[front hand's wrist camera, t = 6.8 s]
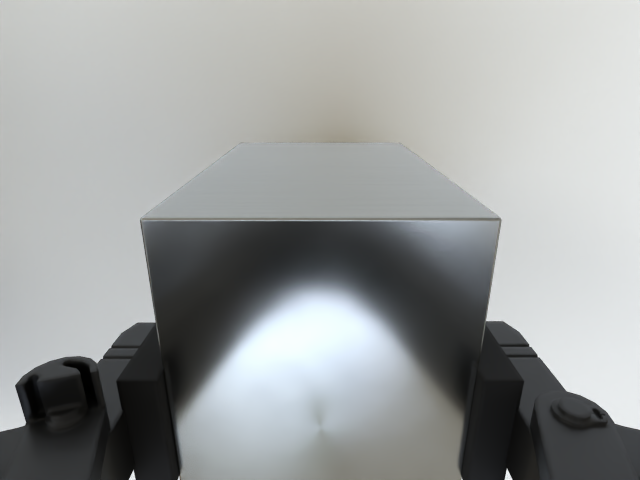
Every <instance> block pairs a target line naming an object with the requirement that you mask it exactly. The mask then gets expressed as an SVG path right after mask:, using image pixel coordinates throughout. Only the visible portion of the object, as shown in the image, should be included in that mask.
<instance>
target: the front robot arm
mask: <svg viewBox="0 0 640 480" xmlns="http://www.w3.org/2000/svg"><path fill="white" fill-rule="evenodd" d="M15 387H16V390H17V393H18V397H19V400H20V403H21V407H22V410H23V413H24V417H25V420H26V425H25V426H23V427H19V428H15V429H11V430H6V431H2V432H0V480H129V478H130V476H131V474H132V472H133V470H134V473H135V478H136V480H178V477H179V470H178V463H177V457H176V450H175V444H174V437H173V431H172V424H171V418H170V411H169V405H168V398H167V392H166V385H165V379H164V372H163V366H162V359H161V353H160V346H159V340H158V333H157V327H156V323H136V324H135V325H133V326H132V327H130V328H129V329H127V330H126V331H124V332H123V333H121V335H120V336H119V337H118V338H117V340H116V341H115V342H114V343H113V345H112V347H111V348H109V350H108V351H107V352H106V354H105V355H104V356H103V359H101V360H100V361H99V362H98V364H97V363H96V362H94V361H93V360H92V359H91V358H86V357H81V356H76V357H64V358H60V359H57V360H53V361H49V362H47V363H45V364H43V365H40V366H38V367H36V368H34V369H33V370H31V371H30V372H28V373H27V374H25V375H24V376H23V377H22V378H21V379H20V380H19V382H18V383H17V384H16V385H15ZM507 469H508V471H509V473H510V475H511V477H512V479H513V480H640V430H638V429H633V428H629V427H624V426H621V425H617V424H614V422H613V420H612V419H611V418H610V416H609V415H608V413H607V412H606V411H605V410H603V409H602V408H601V407H600V406H598V405H597V404H596V403H594V402H592V401H590V400H588V399H586V398H584V397H582V396H580V395H577V394H573V393H570V392H567V391H566V390H565V389H564V388H563V386H562V385H561V384H560V383H559V381H558V380H557V379H556V378H555V376H554V375H553V374H552V373H551V371H550V370H549V369H548V368H547V366H546V365H545V364H544V363H543V361H542V360H541V359H540V358H538V357H537V354H536V353H535V351H534V350H533V349H532V348H531V347H529V344H528V343H527V341H526V340H525V339H524V338H523V336H522V335H521V334H520V332H518V331H517V330H515V329H514V328H512V327H511V326H509V325H508V324H506V323H505V322H503V321H486V323H485V330H484V336H483V343H482V349H481V356H480V362H479V368H478V372H477V378H476V385H475V391H474V398H473V404H472V410H471V417H470V423H469V430H468V436H467V443H466V449H465V456H464V462H463V469H462V475H461V476H462V479H463V480H504V479H505V474H506V470H507Z"/></svg>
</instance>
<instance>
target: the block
mask: <svg viewBox="0 0 640 480" xmlns="http://www.w3.org/2000/svg"><path fill="white" fill-rule="evenodd" d="M140 222H141V229H142V235H143V242H144V248H145V255H146V261H147V268H148V274H149V281H150V287H151V294H152V300H153V307H154V313H155V320H156V327H157V333H158V340H159V346H160V353H161V359H162V366H163V372H164V379H165V385H166V392H167V398H168V405H169V411H170V418H171V424H172V431H173V437H174V444H175V450H176V457H177V463H178V470H179V476H180V480H461V478H462V476H461V475H462V469H463V462H464V456H465V449H466V443H467V436H468V430H469V423H470V417H471V410H472V404H473V398H474V391H475V385H476V378H477V372H478V368H479V362H480V356H481V349H482V343H483V336H484V330H485V323H486V317H487V310H488V304H489V297H490V291H491V285H492V278H493V272H494V265H495V259H496V252H497V246H498V239H499V233H500V226H501V218H500V217H499V216H498V215H496V214H495V213H494V212H492V211H491V210H490V209H488V208H487V207H486V206H484V205H483V204H482V203H480V202H479V201H478V200H476V199H475V198H474V197H472V196H471V195H470V194H468V193H467V192H466V191H464V190H463V189H462V188H460V187H459V186H457V185H456V184H455V183H453V182H452V181H451V180H449V179H448V178H447V177H445V176H444V175H443V174H441V173H440V172H439V171H437V170H436V169H435V168H433V167H432V166H431V165H429V164H428V163H427V162H425V161H424V160H423V159H421V158H420V157H419V156H417V155H416V154H415V153H413V152H412V151H411V150H409V149H408V148H407V147H405V146H404V145H403V144H401V143H239V144H238V145H237V146H235V147H234V148H233V149H231V150H230V151H229V152H227V153H226V154H225V155H223V156H222V157H221V158H220V159H218V160H217V161H216V162H214V163H213V164H212V165H210V166H209V167H208V168H206V169H205V170H204V171H202V172H201V173H200V174H198V175H197V176H196V177H194V178H193V179H192V180H190V181H189V182H188V183H186V184H185V185H184V186H182V187H181V188H180V189H178V190H177V191H176V192H174V193H173V194H172V195H170V196H169V197H168V198H167V199H165V200H164V201H163V202H161V203H160V204H159V205H157V206H156V207H155V208H153V209H152V210H151V211H149V212H148V213H147V214H145V215H144V216H143V217H141V219H140Z"/></svg>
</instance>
